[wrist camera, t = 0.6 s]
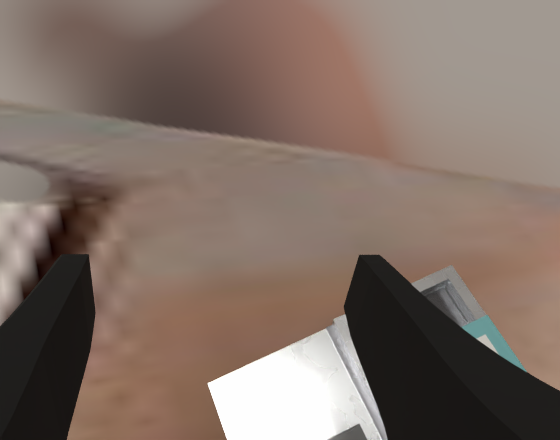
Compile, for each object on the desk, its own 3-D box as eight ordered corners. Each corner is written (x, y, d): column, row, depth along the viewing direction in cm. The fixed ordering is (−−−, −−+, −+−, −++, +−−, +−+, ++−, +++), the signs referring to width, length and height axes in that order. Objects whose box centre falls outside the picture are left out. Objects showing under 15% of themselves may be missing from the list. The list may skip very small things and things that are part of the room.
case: (585, 486, 25) (605, 487, 23) (451, 563, 24) (462, 570, 22) (443, 276, 31) (451, 264, 30) (331, 328, 30) (333, 319, 28)
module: (495, 409, 27) (543, 390, 21) (434, 440, 26) (468, 430, 21) (454, 345, 29) (489, 312, 23) (397, 373, 28) (418, 347, 22)
